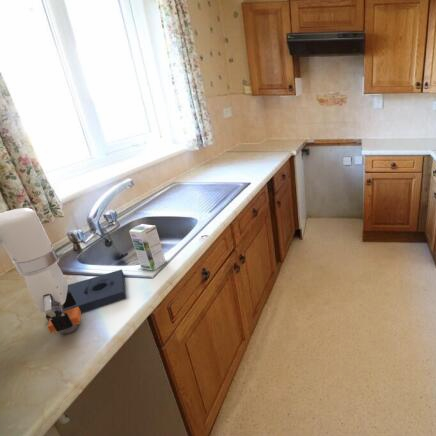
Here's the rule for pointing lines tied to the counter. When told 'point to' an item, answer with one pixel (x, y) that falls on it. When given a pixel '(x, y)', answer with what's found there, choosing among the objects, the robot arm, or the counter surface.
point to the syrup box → (147, 246)
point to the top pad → (74, 317)
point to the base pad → (97, 291)
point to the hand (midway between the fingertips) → (67, 316)
